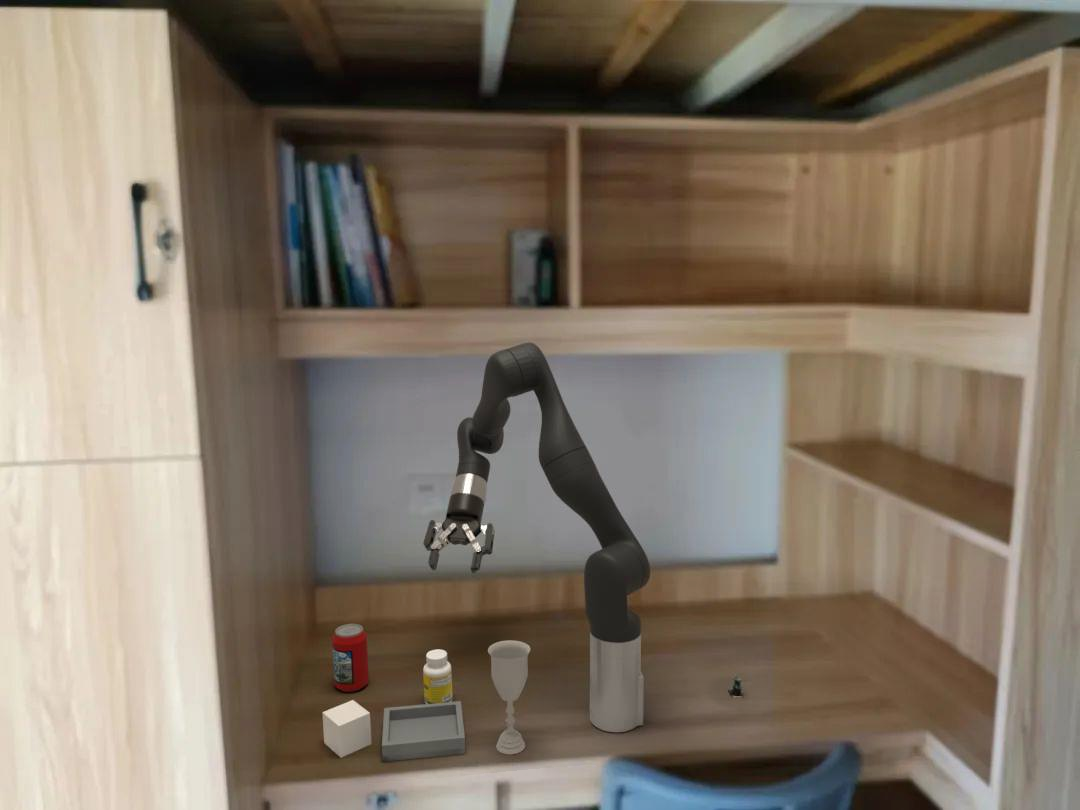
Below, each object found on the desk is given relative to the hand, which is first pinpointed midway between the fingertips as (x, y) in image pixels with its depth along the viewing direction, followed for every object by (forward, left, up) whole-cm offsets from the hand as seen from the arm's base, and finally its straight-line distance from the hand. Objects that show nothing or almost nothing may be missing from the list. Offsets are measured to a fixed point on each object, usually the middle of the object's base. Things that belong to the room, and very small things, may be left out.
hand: (453, 570), depth 162 cm
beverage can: (+21, +2, -22) cm, 31 cm away
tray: (+7, +23, -22) cm, 33 cm away
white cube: (+20, +22, -23) cm, 38 cm away
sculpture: (-54, +18, -23) cm, 61 cm away
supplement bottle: (+4, +11, -22) cm, 25 cm away
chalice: (-8, +28, -22) cm, 37 cm away
